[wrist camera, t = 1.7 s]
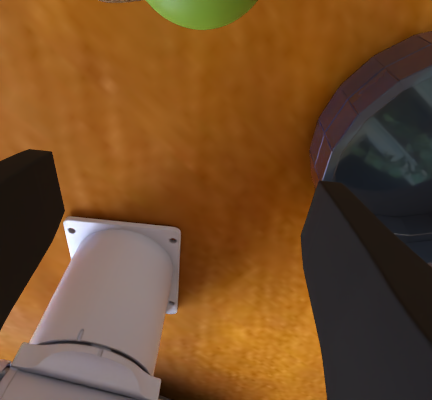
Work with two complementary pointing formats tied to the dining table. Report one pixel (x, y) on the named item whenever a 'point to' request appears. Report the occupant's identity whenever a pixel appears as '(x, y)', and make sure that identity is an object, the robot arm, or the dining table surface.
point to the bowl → (384, 140)
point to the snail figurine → (199, 11)
